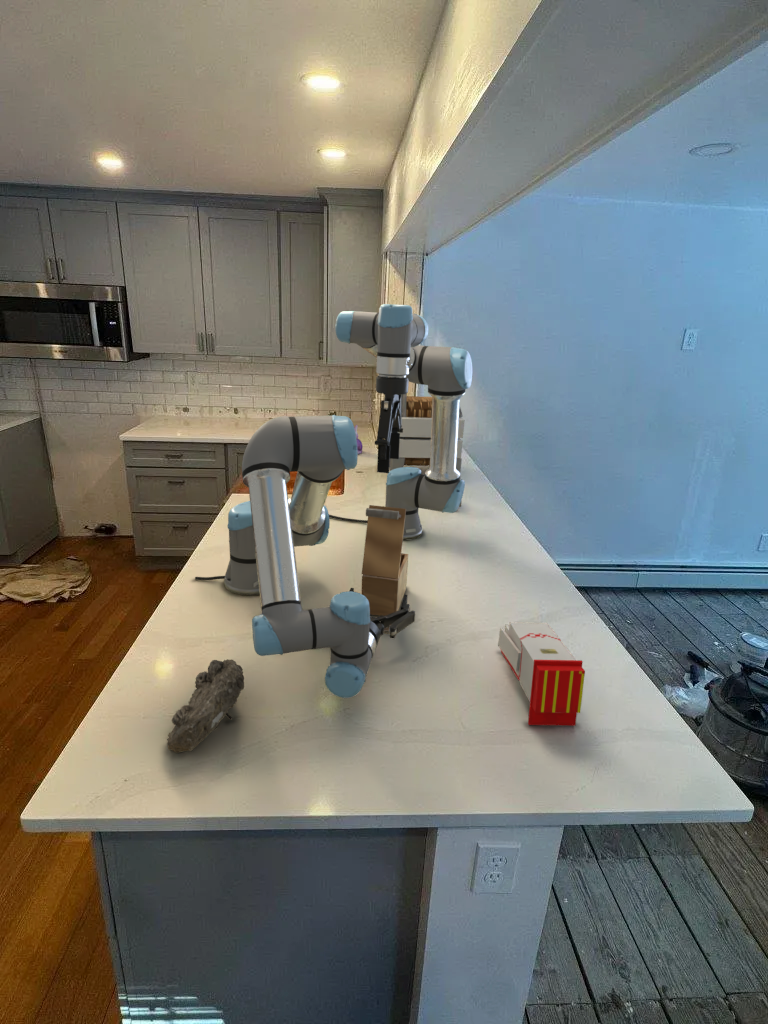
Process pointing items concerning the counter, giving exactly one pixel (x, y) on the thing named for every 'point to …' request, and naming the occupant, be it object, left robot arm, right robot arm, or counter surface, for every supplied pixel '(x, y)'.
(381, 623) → the left robot arm
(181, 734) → the fossil
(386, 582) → the chest
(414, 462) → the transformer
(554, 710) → the toy
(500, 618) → the counter surface
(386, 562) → the lid
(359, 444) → the figurine
